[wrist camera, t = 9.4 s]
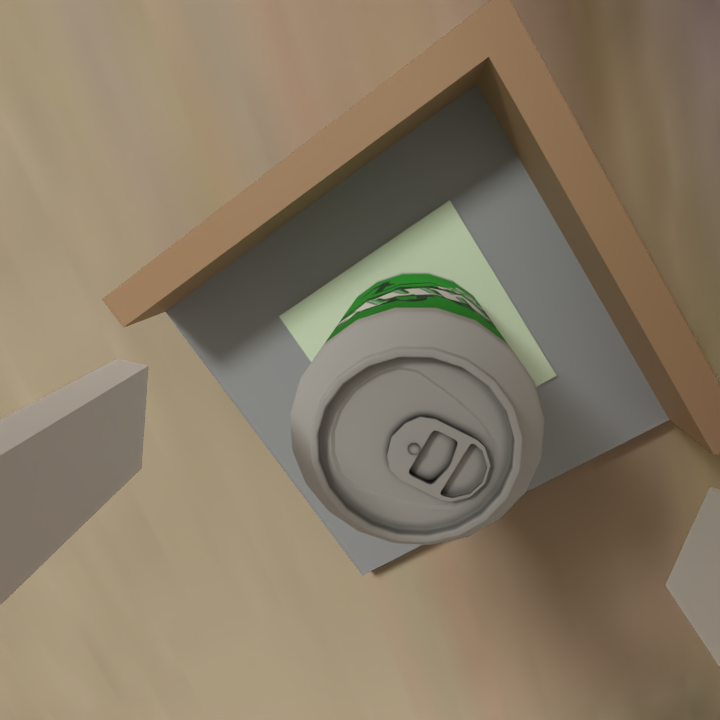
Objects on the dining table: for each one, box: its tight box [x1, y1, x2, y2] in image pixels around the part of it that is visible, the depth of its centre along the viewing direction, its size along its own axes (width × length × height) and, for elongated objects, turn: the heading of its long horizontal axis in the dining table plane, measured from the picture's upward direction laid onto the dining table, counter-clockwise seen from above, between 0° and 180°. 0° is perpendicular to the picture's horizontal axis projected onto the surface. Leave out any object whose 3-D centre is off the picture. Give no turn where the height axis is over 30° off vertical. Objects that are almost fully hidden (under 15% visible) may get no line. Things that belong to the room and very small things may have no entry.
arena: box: [102, 0, 720, 575], centre depth 24 cm, size 20×20×5 cm
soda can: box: [290, 273, 545, 545], centre depth 20 cm, size 8×8×12 cm
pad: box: [279, 200, 557, 387], centre depth 26 cm, size 10×10×1 cm
